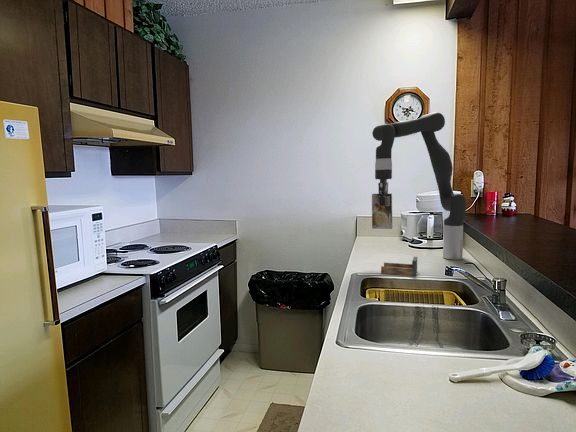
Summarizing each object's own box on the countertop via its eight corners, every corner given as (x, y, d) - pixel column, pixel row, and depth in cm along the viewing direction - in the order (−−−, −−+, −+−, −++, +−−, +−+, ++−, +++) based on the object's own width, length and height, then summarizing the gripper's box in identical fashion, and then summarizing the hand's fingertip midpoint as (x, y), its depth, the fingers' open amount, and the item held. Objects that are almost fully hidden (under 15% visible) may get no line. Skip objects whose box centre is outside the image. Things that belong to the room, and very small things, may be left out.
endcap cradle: (417, 271, 180) (417, 256, 179) (415, 276, 171) (415, 261, 171) (384, 269, 185) (384, 254, 185) (381, 273, 177) (381, 258, 176)
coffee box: (392, 227, 189) (392, 193, 188) (392, 229, 183) (392, 193, 182) (372, 227, 192) (372, 193, 191) (371, 228, 186) (371, 193, 184)
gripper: (389, 168, 177) (389, 206, 178) (393, 168, 190) (393, 204, 192) (372, 168, 180) (372, 206, 181) (377, 169, 193) (377, 203, 195)
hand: (383, 204), depth 186 cm, fingers closed on coffee box, 6 cm apart
